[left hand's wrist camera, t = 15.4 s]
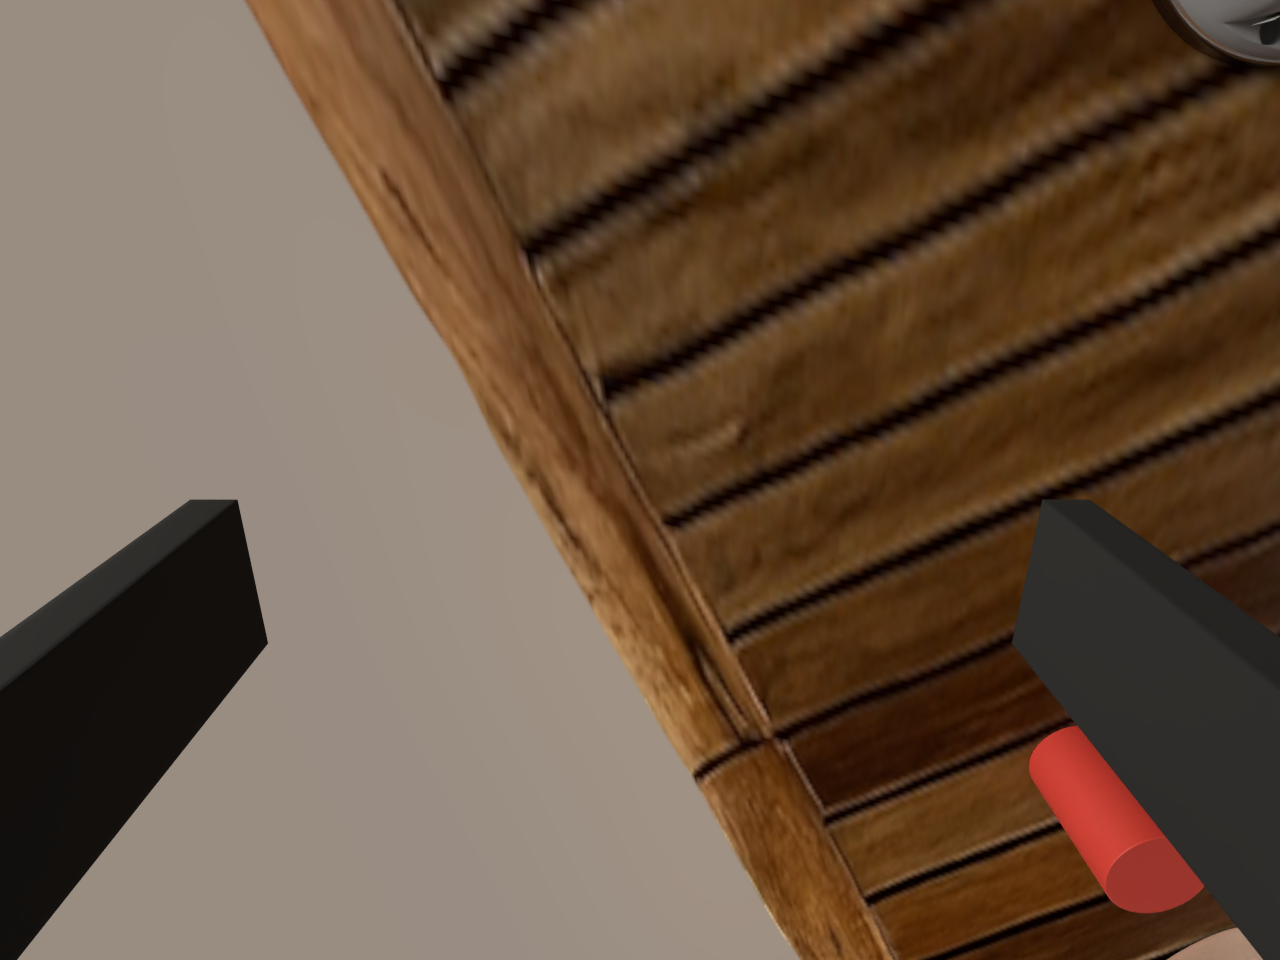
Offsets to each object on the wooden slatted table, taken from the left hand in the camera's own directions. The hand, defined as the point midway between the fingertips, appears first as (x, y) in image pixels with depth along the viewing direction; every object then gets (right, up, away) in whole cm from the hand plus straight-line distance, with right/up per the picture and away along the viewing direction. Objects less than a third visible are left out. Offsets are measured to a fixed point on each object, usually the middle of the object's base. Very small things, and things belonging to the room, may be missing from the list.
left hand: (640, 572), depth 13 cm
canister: (+29, -17, +39) cm, 52 cm away
